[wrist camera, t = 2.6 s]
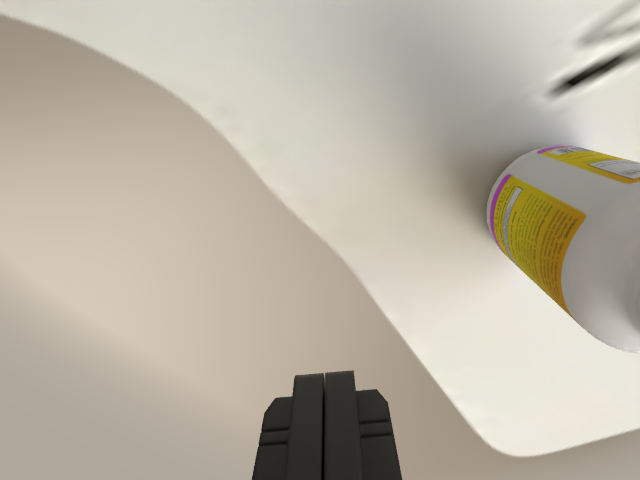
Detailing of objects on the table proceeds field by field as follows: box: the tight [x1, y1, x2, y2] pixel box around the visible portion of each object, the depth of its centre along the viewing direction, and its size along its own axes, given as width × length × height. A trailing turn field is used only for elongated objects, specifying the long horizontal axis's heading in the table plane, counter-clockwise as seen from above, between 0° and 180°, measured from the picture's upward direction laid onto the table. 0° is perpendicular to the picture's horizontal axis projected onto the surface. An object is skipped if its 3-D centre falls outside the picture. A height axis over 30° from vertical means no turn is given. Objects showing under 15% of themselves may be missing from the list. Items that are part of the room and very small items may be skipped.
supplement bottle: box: [486, 145, 640, 354], centre depth 19 cm, size 7×7×13 cm
